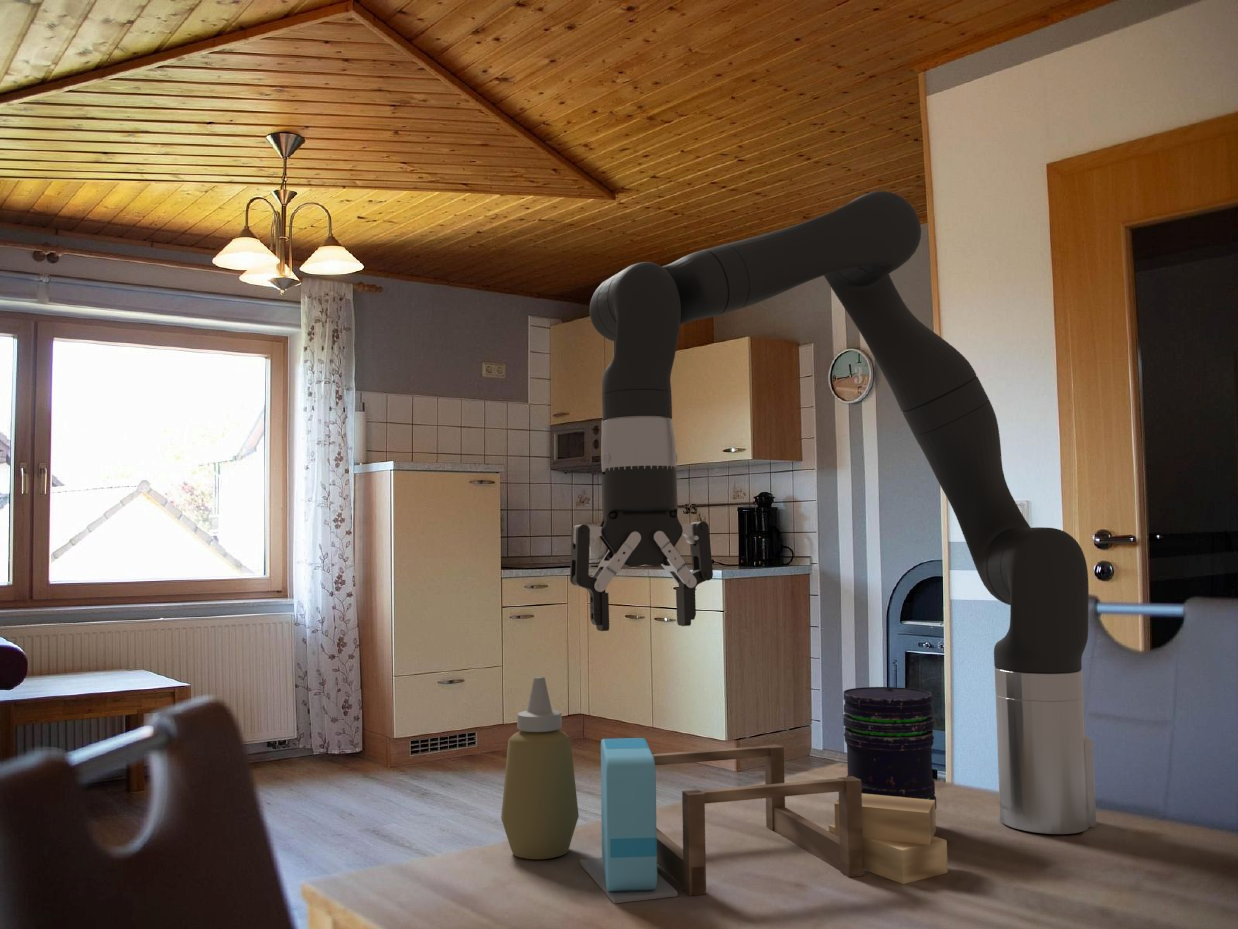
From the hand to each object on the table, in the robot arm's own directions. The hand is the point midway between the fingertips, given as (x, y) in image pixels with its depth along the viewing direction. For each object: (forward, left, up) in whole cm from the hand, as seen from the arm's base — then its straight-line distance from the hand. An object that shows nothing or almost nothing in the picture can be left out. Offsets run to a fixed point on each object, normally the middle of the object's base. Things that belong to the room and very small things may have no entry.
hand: (643, 628), depth 103 cm
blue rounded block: (+2, +1, -23) cm, 24 cm away
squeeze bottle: (+9, -10, -24) cm, 27 cm away
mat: (+3, +1, -24) cm, 24 cm away
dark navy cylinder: (-30, -6, -24) cm, 39 cm away
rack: (-10, -2, -24) cm, 26 cm away
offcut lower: (-23, +5, -24) cm, 34 cm away
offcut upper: (-23, +5, -21) cm, 31 cm away
